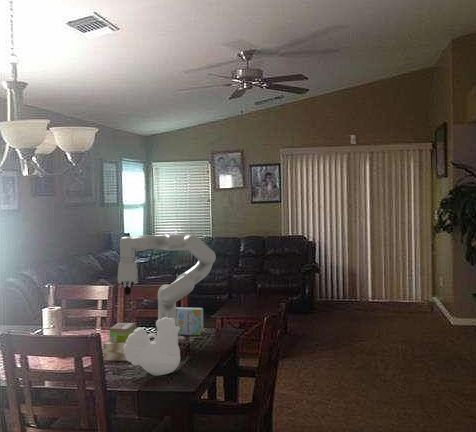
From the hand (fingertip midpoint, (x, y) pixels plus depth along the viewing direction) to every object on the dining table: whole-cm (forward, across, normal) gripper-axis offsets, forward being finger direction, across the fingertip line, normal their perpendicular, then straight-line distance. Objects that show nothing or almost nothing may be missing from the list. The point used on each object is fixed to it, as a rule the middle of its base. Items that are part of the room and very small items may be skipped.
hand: (127, 294), depth 307 cm
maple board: (+27, -1, +28) cm, 39 cm away
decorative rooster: (+27, -23, +50) cm, 61 cm away
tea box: (+27, -2, +19) cm, 33 cm away
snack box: (+27, -26, -28) cm, 47 cm away
